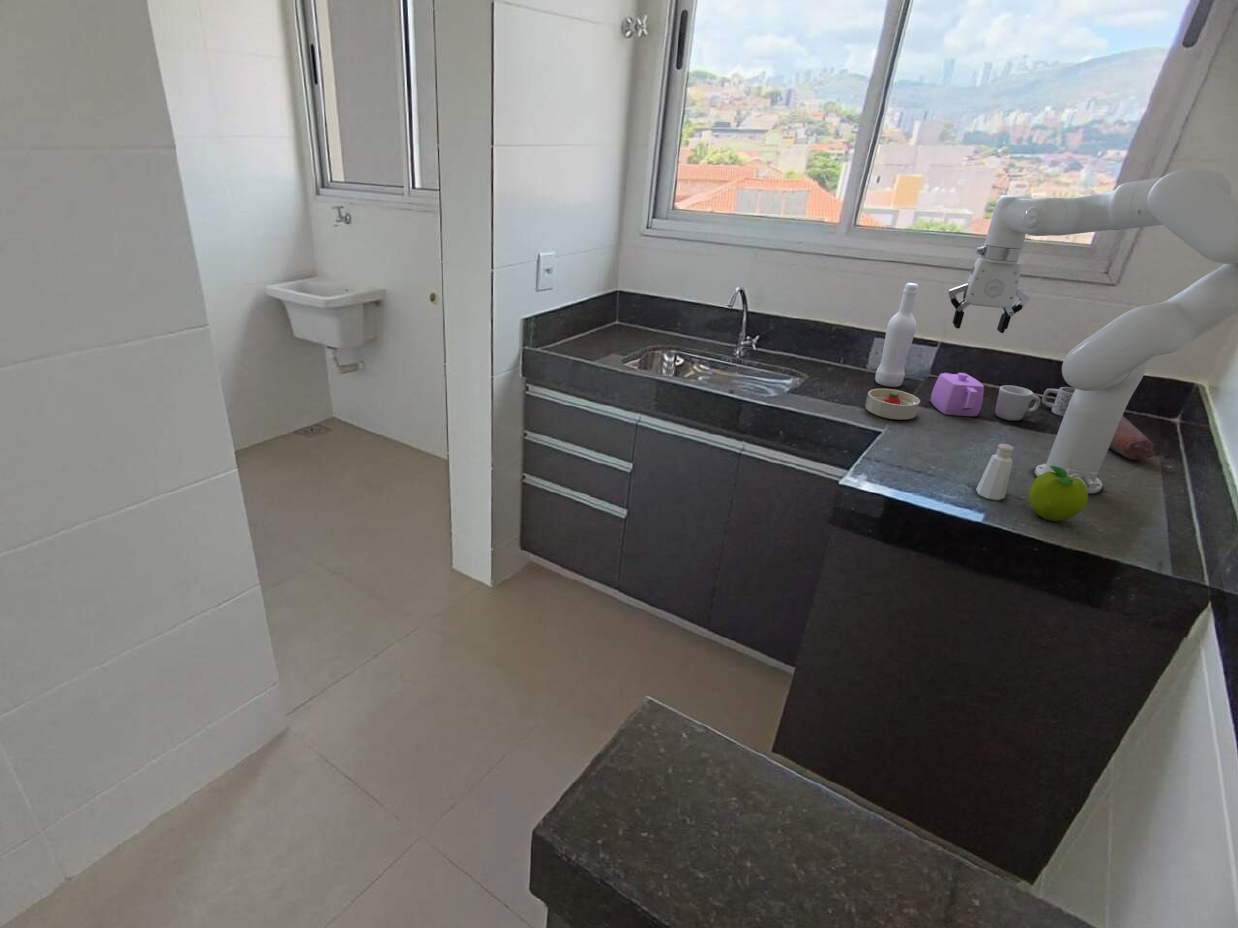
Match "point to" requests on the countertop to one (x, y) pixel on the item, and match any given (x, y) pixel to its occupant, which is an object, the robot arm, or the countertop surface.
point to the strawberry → (893, 398)
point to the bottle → (898, 341)
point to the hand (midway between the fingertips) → (978, 329)
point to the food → (1131, 442)
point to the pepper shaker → (996, 474)
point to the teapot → (957, 394)
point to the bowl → (892, 411)
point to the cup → (1014, 402)
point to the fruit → (1057, 495)
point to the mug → (1059, 399)
